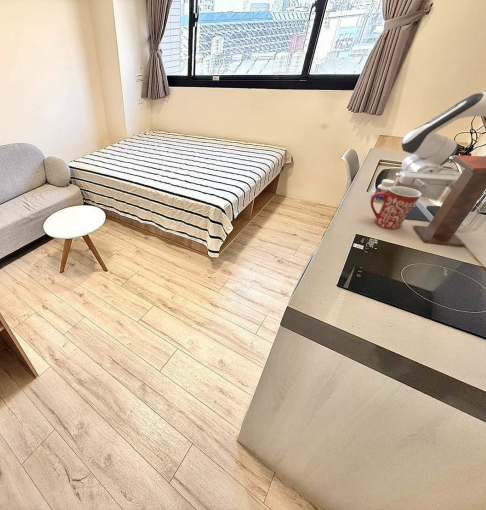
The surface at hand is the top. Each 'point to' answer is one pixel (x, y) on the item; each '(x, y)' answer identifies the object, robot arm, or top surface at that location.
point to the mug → (395, 206)
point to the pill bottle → (383, 189)
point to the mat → (416, 215)
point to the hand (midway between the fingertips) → (439, 186)
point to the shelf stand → (456, 203)
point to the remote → (427, 208)
